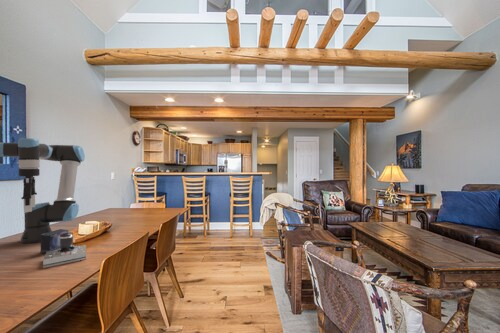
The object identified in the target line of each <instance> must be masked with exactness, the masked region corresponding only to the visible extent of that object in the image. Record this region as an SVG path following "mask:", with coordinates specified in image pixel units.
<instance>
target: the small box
mask: <svg viewBox="0 0 500 333" xmlns="http://www.w3.org/2000/svg"><path fill="white" fill-rule="evenodd" d="M63 233H69V229H63V228H59V229H56V230H52V232H48V233H44V234H41V241H40V251H39V252H40V254H46V252H48V251H53V250H56V249H59V248H60V235H61V234H63Z"/></svg>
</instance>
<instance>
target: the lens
mask: <svg viewBox="0 0 500 333" xmlns="http://www.w3.org/2000/svg"><path fill="white" fill-rule="evenodd" d="M73 246H74V233H73V232H71V231H70V232H69V231H68V233H63V234H61V235H60V252H65V251H70V250H72V249H73Z"/></svg>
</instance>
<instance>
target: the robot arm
mask: <svg viewBox="0 0 500 333" xmlns="http://www.w3.org/2000/svg"><path fill="white" fill-rule="evenodd" d="M0 157H1V158H2V157H3V158H9V157H11V158H18V161H17V162H16V164H18V177H25V178H23V181H22V182H23V192H22V196H21V197H20V198H21V200H23V215H24V230H23V233H22V235H21V237H20V243H21V244H35V243H39V242H40V243H41V234H44V233H48V232H52V231H53V230H52V227H51V225H50V223H62V222H71V221H74V220H75V219H76V217H77V216H78V214H79V210H80V207H79V206H80V205H79V203H77V201H76V200H75V198H74V197H75V196H74V195H75V189H76V180H77V173H78V167H79V166H81V162H84V161H85V158H86V157H85V152H84V149H83V147H82V146H80V145H74V144H73V145H72V144H71V145H70V144H69V145H68V144H67V145H65V144H64V145H63V144H51V145H48V144H45V143H41V142H40V140H39V139H38V138H32V137H20V138H19V139H18V140H17V142H0ZM40 160H45V161H51V162H59V164H60V165H61V168H60V169H61V170H60V177H59V183H58V190H57V196H56V199H55V200H54V201H53V204H51V203H50V202H49V201H48V202H47V201H46V202H40V203H36V195H37V194H38V193H37V192H36V178H35V177H38V176H40V169H39V168H40Z"/></svg>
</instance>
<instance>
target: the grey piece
mask: <svg viewBox="0 0 500 333" xmlns="http://www.w3.org/2000/svg"><path fill="white" fill-rule="evenodd" d="M44 254H45V253H44ZM80 260H81V261H85V260H87V245H86V244H83V245H73V249H72V250H70V251H65V252H60V248H59V249H56V250H53V251H48V252H46V254H45V255H44V257H43V259H42V268H43V269H45V268H46V269H47V268H52V267H56V266H60V265H65V264H69V263H76V262H80Z"/></svg>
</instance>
